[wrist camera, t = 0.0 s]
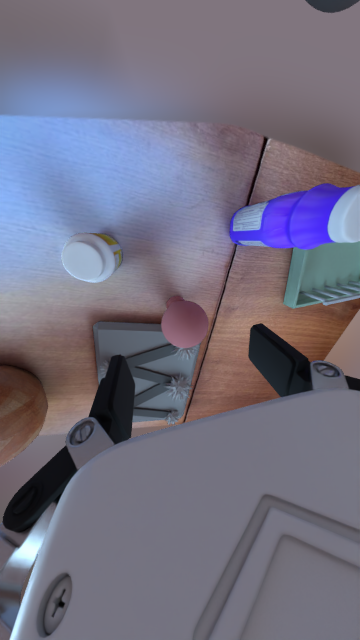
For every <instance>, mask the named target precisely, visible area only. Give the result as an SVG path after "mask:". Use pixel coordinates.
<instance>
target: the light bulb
mask: <svg viewBox="0 0 360 640" xmlns="http://www.w3.org/2000/svg"><path fill="white" fill-rule="evenodd" d="M166 308H167V310H166V311H165V313H164V315H163V317H162V322H161V328H162V332H163V334H164V336H165V338H166V339H167V340H168V341H169V342H170V343H171V344H173V345H174V346H177V347H180V348H190V347H193V346H196V345H197V344H199V343H200V342H201V341H202V340H203V339H204V337H205V336H206V334H207V331H208V318H207V315H206V313H205V311H204V310H203V309H202V308H201V307H200V306H199V305H197V304H196V303H193V302H190V301H185V300H184V299H183V298H182V297H179V296H174V297H171V298H170V299H169V300H168V301H167V305H166Z"/></svg>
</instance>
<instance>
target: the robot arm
mask: <svg viewBox="0 0 360 640" xmlns="http://www.w3.org/2000/svg"><path fill="white" fill-rule="evenodd" d="M248 356H249V359H250V361H251V362H252V363H253V364H254V365H255V367H256V368H257V369H258V370H259V371H260V373H261V374H262V375H263V376H264V377H265V379H266V380H267V381H268V382H269V383H270V385H271V386H272V387H273V388H274V389H275V391H276V392H277V393H278V394H279V395H280V396H281V398H278V399H274V400H270V401H266V402H262V403H258V404H254V405H251V406H247V407H243V408H239V409H235V410H232V411H228V412H224V413H220V414H217V415H213V416H209V417H205V418H202V419H198V420H194V421H190V422H187V423H183V424H179V425H176V426H172V427H169V428H165V429H161V430H158V431H154V432H151V433H147V434H144V435H141V436H137V437H134V438H131V431H132V420H133V409H134V397H135V382H134V379H133V377H132V374H131V372H130V369H129V367H128V364H127V361H126V359H125V357H124V356H121V354H119V355H115V356H112V357H111V360H110V363H109V366H108V369H107V372H106V376H105V378H102V379H101V381H100V384H99V387H98V390H97V393H96V396H95V399H94V402H93V405H92V408H91V411H90V414H89V417H87V418H84V419H82V420H80V421H79V422H77V423H76V424H75V425H74V426H73V427H72V428H71V430H70V431H69V433H68V435H67V437H66V446H65V447H64V448H63V449H61V451H59V452H58V453H57V454H56V455H55V456H54V457H53V458H52V459H51V460H50V461H49V462H48V463H47V464H46V465H45V466H44V467H42V468H41V469H40V470H39V471H38V472H37V473H36V474H35V475H34V476H33V477H32V478H31V479H30V480H29V481H28V482H27V483H26V484H24V486H22V487H21V488H20V489H19V491H18V492H17V493H16V494H15V495H14V497H13V498H12V500H11V501H10V502H9V504H8V506H7V508H6V510H5V513H4V516H3V521H2V523H1V524H0V640H360V379H357V378H353V377H349V376H345V375H344V373H343V371H342V370H341V369H340V368H339V367H337V366H336V365H334V364H332V363H329V362H326V361H320V360H318V361H313V362H309V361H308V358H307V357H305V356H304V355H303V354H301V353H300V352H299V351H298V350H296V349H295V348H294V347H292V346H291V345H290V344H288V343H287V342H286V341H284V340H283V339H282V338H280V337H279V336H278V335H276V334H275V333H274V332H272V331H271V330H270V329H268V328H267V327H266V326H265V325H263V324H256V325H253V326H252V328H251V330H250V342H249V354H248ZM129 438H131V439H129ZM40 547H41V548H40ZM39 549H40V551H39V554H37V552H38V550H39ZM36 559H37V560H36ZM35 560H36V563H35V566H34V568H33V571H32V574H31V577H30V580H29V583H28V586H27V589H26V592H25V595H24V598H23V601H22V604H20V597H21V591H22V587H23V584H24V581H25V579H26V577H27V575H28V572H29V571H30V569H31V567H32V565H33V564H34V562H35Z"/></svg>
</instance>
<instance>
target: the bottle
mask: <svg viewBox="0 0 360 640" xmlns="http://www.w3.org/2000/svg"><path fill="white" fill-rule="evenodd" d="M230 238H231V240H232V241H233V242H234V243H236V244H238V245H243V246H249V245H251V246H268V247H273V248H294V247H297V248H299V249H304V250H309V249H313V248H315V247H318V246H320V245H322V244H325V243H334V242H338V243H343V242H349V243H354V242H358V241H360V185H357V186H354V187H346V188H339V187H336V186H334V185H332V184H328V183H326V184H321V185H318V186H316V187H314V188H312V189H310V190H309V191H298V192H292V193H288V194H284V195H281V196H279V197H277V198H275V199H271V200H268V201H265V202H261V203H258V204H255V205H250V206H245V207H243V208H240V209H239V210H238V211H236V212H235V213H234V215H233V216H232V219H231V222H230Z"/></svg>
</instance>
